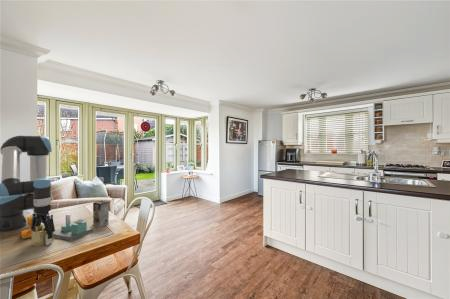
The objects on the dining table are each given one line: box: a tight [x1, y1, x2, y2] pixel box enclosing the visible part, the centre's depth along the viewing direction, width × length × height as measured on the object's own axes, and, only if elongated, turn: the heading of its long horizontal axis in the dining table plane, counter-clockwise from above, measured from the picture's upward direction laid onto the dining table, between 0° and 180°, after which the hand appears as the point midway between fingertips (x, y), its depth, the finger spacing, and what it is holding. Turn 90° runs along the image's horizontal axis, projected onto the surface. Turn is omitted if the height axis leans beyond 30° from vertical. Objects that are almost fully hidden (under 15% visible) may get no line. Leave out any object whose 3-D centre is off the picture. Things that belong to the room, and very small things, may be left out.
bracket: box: [21, 215, 34, 239], centre depth 125 cm, size 11×7×12 cm, turn 51°
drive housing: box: [54, 213, 94, 242], centre depth 128 cm, size 20×14×12 cm
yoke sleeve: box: [31, 224, 55, 248], centre depth 116 cm, size 7×7×10 cm
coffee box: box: [92, 200, 110, 227], centre depth 144 cm, size 9×6×16 cm
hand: (42, 242), depth 116 cm, fingers open, 10 cm apart
